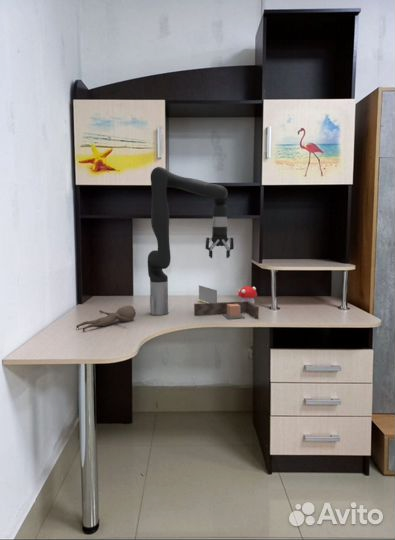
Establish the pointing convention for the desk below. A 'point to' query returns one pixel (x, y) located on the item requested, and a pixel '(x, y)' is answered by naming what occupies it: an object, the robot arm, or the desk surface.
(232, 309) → the block
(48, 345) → the desk surface
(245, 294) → the mushroom
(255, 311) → the brown wooden corner barrier
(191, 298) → the desk surface
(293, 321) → the desk surface
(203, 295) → the sign holder
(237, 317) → the pad
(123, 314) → the toy
